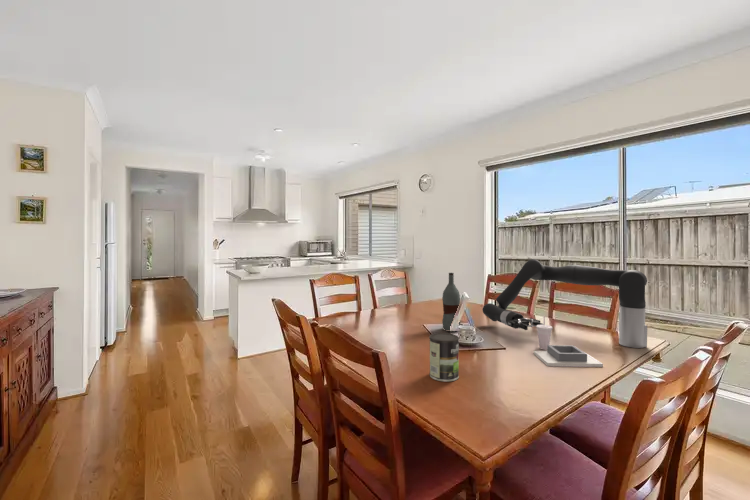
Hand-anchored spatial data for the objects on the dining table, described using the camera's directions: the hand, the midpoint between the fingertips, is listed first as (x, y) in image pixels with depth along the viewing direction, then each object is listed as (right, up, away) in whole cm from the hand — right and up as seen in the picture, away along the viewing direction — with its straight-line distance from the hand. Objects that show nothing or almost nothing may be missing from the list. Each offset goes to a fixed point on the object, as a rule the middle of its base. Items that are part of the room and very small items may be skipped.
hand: (535, 327), depth 158 cm
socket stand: (+3, -9, -19) cm, 22 cm away
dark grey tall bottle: (-32, -7, +25) cm, 42 cm away
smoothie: (+2, -8, -5) cm, 10 cm away
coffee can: (-48, -10, -34) cm, 59 cm away
